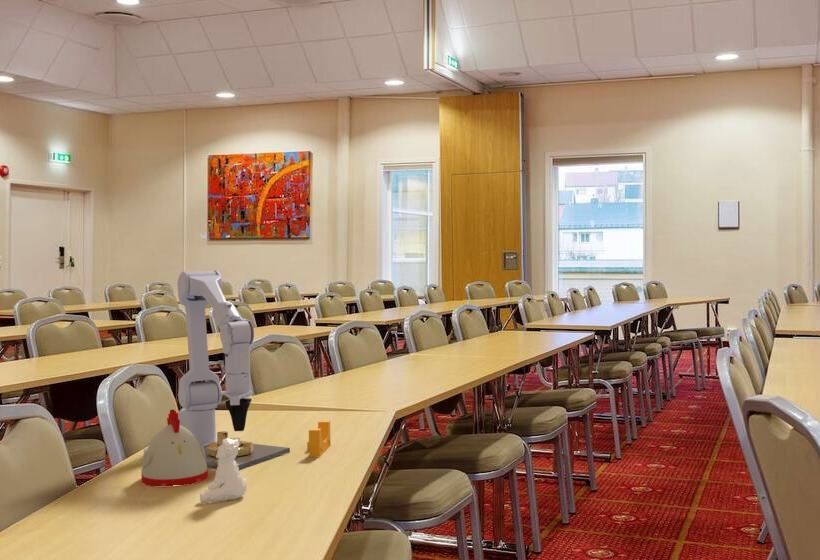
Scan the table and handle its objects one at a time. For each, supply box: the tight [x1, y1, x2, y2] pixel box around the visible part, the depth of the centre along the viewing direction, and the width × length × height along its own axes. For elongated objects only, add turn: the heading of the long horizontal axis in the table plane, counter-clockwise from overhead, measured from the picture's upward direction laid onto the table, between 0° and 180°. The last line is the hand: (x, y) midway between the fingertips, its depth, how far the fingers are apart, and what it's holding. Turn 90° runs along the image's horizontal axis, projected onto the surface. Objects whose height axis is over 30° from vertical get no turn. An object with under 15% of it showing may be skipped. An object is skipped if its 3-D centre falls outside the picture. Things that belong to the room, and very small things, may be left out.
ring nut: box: [207, 431, 255, 457], centre depth 218 cm, size 11×10×6 cm
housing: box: [204, 437, 291, 471], centre depth 218 cm, size 20×20×4 cm
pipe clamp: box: [306, 420, 332, 458], centre depth 222 cm, size 12×4×6 cm, turn 173°
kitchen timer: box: [140, 409, 209, 487], centre depth 198 cm, size 14×14×15 cm
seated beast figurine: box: [199, 437, 247, 504], centre depth 183 cm, size 10×9×12 cm
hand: (239, 430), depth 213 cm, fingers closed
